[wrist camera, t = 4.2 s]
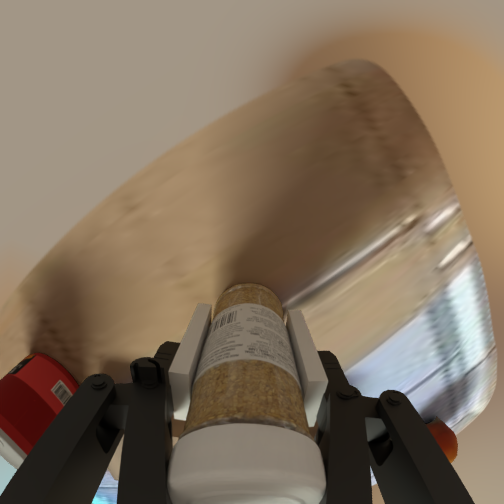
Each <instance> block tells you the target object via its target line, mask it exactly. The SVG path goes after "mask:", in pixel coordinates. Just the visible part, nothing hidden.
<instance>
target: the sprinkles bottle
mask: <svg viewBox="0 0 504 504" xmlns="http://www.w3.org/2000/svg"><path fill="white" fill-rule="evenodd" d="M213 317H214V318H213V321H212V323H211V325H210V327H209V330H208V333H207V337H206V340H205V344H204V347H203V350H202V354H201V357H200V361H199V364H198V368H197V372H196V375H195V379H194V382H193V386H192V391H191V396H192V398H191V401H190V405H189V409H188V413H187V417H186V422H185V426H184V431H183V432H182V433H181V434H180V436H179V439H178V441H177V442H176V444H175V445H174V447H173V449H172V452H171V456H170V460H169V464H168V470H167V489H168V493H169V496H170V499H171V501H172V504H319V503H320V501H321V499H322V498H323V496H324V494H325V491H326V486H327V481H326V472H325V467H324V463H323V459H322V455H321V451H320V449H319V447H318V446H317V444H316V442H315V440H314V438H313V437H312V436H311V435H310V431H309V424H308V421H307V416H306V412H305V408H304V402H303V394H302V389H301V385H300V381H299V376H298V372H297V368H296V364H295V359H294V355H293V351H292V347H291V343H290V339H289V335H288V332H287V328H286V326H285V324H284V320H283V310H282V305H281V302H280V301H279V299H278V298H277V296H276V295H275V294H274V293H273V292H272V291H271V290H270V289H268V288H266V287H264V286H263V285H259V284H254V283H244V284H238V285H235V286H233V287H231V288H229V289H227V290H226V291H225V292H224V293H222V294H221V296H220V297H219V299H218V300H217V302H216V304H215V308H214V314H213Z"/></svg>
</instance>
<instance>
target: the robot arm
mask: <svg viewBox="0 0 504 504" xmlns="http://www.w3.org/2000/svg"><path fill="white" fill-rule="evenodd" d="M210 325H211V304H202V303H198V305H197V308H196V310H195V312H194V314H193V316H192V319H191V321H190V323H189V325H188V328H187V330H186V332H185V334H184V337H183V339H182V341H181V343H176V342H169V341H166V342H165V343H164V344H162V345H161V346H160V347H159V349H158V350H157V353H156V354H155V356H154V358H151V357H143V358H139V359H136V360H135V361H133V362H132V363H131V365H130V369H131V374H132V379H133V383H129V384H114V381H113V379H112V378H111V377H110V376H108V375H106V374H94V375H91V376H89V377H88V378H86V379H85V380H84V382H83V383H82V384H81V385H80V387H79V388H78V389H77V390H76V392H75V393H74V394H73V395H72V397H71V398H70V399H69V400H68V402H67V403H66V404H65V406H64V407H63V408H62V409H61V411H60V412H59V413H58V415H57V416H56V417H55V419H54V420H53V421H52V423H51V424H50V425H49V427H48V428H47V429H46V431H45V432H44V433H43V435H42V436H41V437H40V439H39V440H38V441H37V443H36V444H35V446H34V447H33V448H32V450H31V451H30V453H29V454H28V455H27V457H26V458H25V460H24V461H23V463H22V464H21V465H20V467H19V468H18V470H17V471H16V473H15V475H14V476H13V477H12V479H11V480H10V482H9V483H8V485H7V486H6V488H5V490H4V491H3V493H2V494H1V496H0V504H91V503H92V501H93V498H94V496H95V494H96V492H97V490H98V487H99V485H100V483H101V481H102V479H103V477H104V474H105V472H106V470H107V468H108V466H109V464H110V462H111V460H112V457H113V455H114V453H115V451H116V449H117V447H118V445H119V443H120V441H121V439H122V437H123V435H124V438H123V445H122V453H121V462H120V471H119V481H118V494H117V504H172V501H171V499H170V496H169V493H168V489H167V470H168V464H169V460H170V456H171V452H172V449H173V435H172V421H171V418H172V414H173V412H174V418H175V419H179V420H185V421H186V417H187V413H188V409H189V405H190V401H191V398H192V396H191V391H192V386H193V382H194V379H195V375H196V372H197V368H198V364H199V361H200V357H201V354H202V350H203V347H204V344H205V340H206V337H207V333H208V330H209V327H210ZM286 328H287V332H288V335H289V339H290V343H291V347H292V351H293V355H294V359H295V364H296V368H297V372H298V376H299V381H300V385H301V389H302V394H303V402H304V408H305V412H306V416H307V421H308V424H309V427H314V425H315V422H316V419H317V422H318V426H319V427H318V429H317V432H316V435H315V437H314V440H315V442H316V444H317V446H318V447H319V449H320V451H321V455H322V459H323V463H324V467H325V472H326V481H327V486H326V491H325V494H324V496H323V498H322V499H321V501H320V503H319V504H372V487H371V472H370V466H371V469H372V471H373V474H374V476H375V479H376V481H377V484H378V486H379V489H380V492H381V494H382V497H383V499H384V502H385V504H475V503H474V502H473V500H472V498H471V496H470V495H469V493H468V491H467V490H466V488H465V486H464V485H463V483H462V481H461V479H460V478H459V476H458V474H457V473H456V471H455V470H454V468H453V466H452V465H451V463H450V462H449V460H448V458H447V457H446V455H445V454H444V452H443V450H442V449H441V447H440V446H439V444H438V443H437V441H436V440H435V438H434V436H433V435H432V433H431V432H430V430H429V429H428V427H427V426H426V424H425V423H424V421H423V420H422V418H421V417H420V415H419V414H418V412H417V411H416V410H415V408H414V407H413V405H412V404H411V402H410V401H409V399H408V398H407V397H406V396H405V395H404V394H403V393H401V392H399V391H396V390H387V391H384V392H383V393H382V394H381V395H380V397H379V398H372V397H365V396H362V395H361V393H360V391H359V390H358V389H357V388H355V387H353V386H351V385H349V383H348V381H347V379H346V377H345V375H344V373H343V370H342V369H341V366H340V364H339V362H338V360H337V358H336V356H335V355H334V354H333V353H331V352H330V351H317V350H316V347H315V345H314V342H313V339H312V337H311V334H310V332H309V329H308V327H307V324H306V321H305V319H304V316H303V314H302V311H301V310H288V315H287V322H286Z"/></svg>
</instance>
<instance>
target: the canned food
mask: <svg viewBox="0 0 504 504" xmlns="http://www.w3.org/2000/svg"><path fill="white" fill-rule="evenodd" d="M78 388H79V385H78V384H77V382H76V381H75V379H74V378H73V377H72V376H71V374H70V373H69V372H68V371H67V370H66V369H65V368H64V367H63V366H62V365H61V364H59V363H58V362H57V361H55V360H54V359H53V358H51V357H49V356H47V355H45V354H42V353H34V354H31V355H28V356H27V357H26V358H24V359H23V360H22V361H21V362H20V363H19V364H18V365H17V366H15V367H14V368H13V369H12V370H11V371H10V372H9V373H8V374H7V375H5V376H4V377H3V378H2V379H1V380H0V455H1V456H2V457H3V458H4V459H5V460H6V461H7V462H9V463H10V464H11V465H12V466H13V467H15V468H16V469H17V470H18V468H19V467H20V465H21V464H22V463H23V461H24V460H25V458H26V457H27V455H28V454H29V453H30V451H31V450H32V448H33V447H34V446H35V444H36V443H37V441H38V440H39V439H40V437H41V436H42V435H43V433H44V432H45V431H46V429H47V428H48V427H49V425H50V424H51V423H52V421H53V420H54V419H55V417H56V416H57V415H58V413H59V412H60V411H61V409H62V408H63V407H64V406H65V404H66V403H67V402H68V400H69V399H70V398H71V397H72V395H73V394H74V393H75V392H76V390H77V389H78Z"/></svg>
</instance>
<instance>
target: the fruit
mask: <svg viewBox="0 0 504 504" xmlns="http://www.w3.org/2000/svg"><path fill="white" fill-rule="evenodd" d="M426 426H427V427H428V429H429V430H430V432H431V433H432V435H433V436H434V438H435V440H436V441H437V443H438V444H439V446H440V447H441V449H442V450H443V452H444V454H445V455H446V457H447V458H448V460H449V462H450V463H452V462H453V461H454V459H455V458H456V456H457V449H458V444H457V438H456V436H455V434H454V432H453V431H452V430H451V429H450V428H449V427H448V426H447V425H446V424H445V423H444V422H443V421H442V420H440V419H439V418H438V417H437V416H436V418H435V419H434V420H433V421H432V422H430V423H428V424H426Z"/></svg>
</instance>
